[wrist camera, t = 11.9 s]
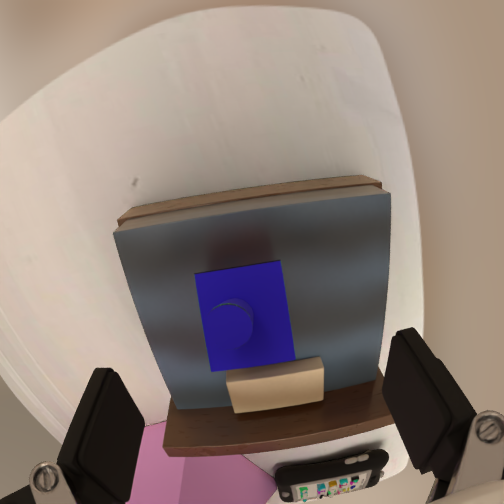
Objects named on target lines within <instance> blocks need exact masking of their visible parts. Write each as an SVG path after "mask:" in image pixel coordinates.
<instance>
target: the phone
mask: <svg viewBox="0 0 504 504" xmlns="http://www.w3.org/2000/svg"><path fill="white" fill-rule="evenodd" d="M388 460H389V455H388V453H387V452H386V451H385V450H382V449H377V450H372V451H370V450H367V451H366V452H365V453H362V454H359V455H355V456H351V457H347V458H342V459H338V460H333V461H328V462H323V463H318V464H311V465H296V466H286V467H282V468H280V469H279V470H277V472H276V473H275V482H276V484H277V487H278V490H279V495H280V498H281V500H282V501H284V502H297V501H304V502H306V501H307V500H309V499H316V498H317V499H319V498H320V499H321V498H323V497H327V496H328V497H330V498H331V497H333V496H334V495H338V494H343V493H348V492H352V491H356V490H361V489H365V488H369V487H372V486H374V485H376V484H377V483H378V482H379V479H380V478H382V477H383V475H384V472H383V471H381V470H382V469H383V467H384V466H385V465H386V464H387V462H388Z"/></svg>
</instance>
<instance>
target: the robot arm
mask: <svg viewBox="0 0 504 504" xmlns="http://www.w3.org/2000/svg"><path fill="white" fill-rule="evenodd" d="M382 395H383V398H384V400H385V402H386V404H387V407H388V409H389V411H390V413H391V415H392V418H393V420H394V422H395V424H396V427H397V429H398V431H399V433H400V436H401V438H402V440H403V443H404V445H405V447H406V450H407V452H408V454H409V457H410V459H411V462H412V464H413V466H414V468H415V469H419V470H420V472H421V474H425V473H427V472H429V471H432V472H433V474H434V476H435V478H436V479H435V481H434V484H433V487H432V489H431V491H430V494H429V496H428V499H427V501H426V503H425V504H504V416H503V415H502V414H500V413H498V412H496V411H484V412H481V413H479V414H478V415H477V413H476V412H475V410H474V409H473V407H472V405H471V404H470V402H469V401H468V399H467V398H466V396H465V395H464V393H463V392H462V390H461V389H460V387H459V386H458V384H457V383H456V381H455V380H454V378H453V377H452V375H451V374H450V372H449V371H448V370H447V368H446V367H445V365H444V364H443V362H442V361H441V360H440V359H438V358H436V357H435V356H434V354H433V353H432V351H431V350H430V349H429V347H428V346H427V344H426V343H425V342H424V340H423V339H422V337H421V336H420V335H419V333H418V332H417V331H416V329H415V328H413V327H411V328H407V329H403V330H400V331H397V332H396V335H395V336H393V337H392V340H391V345H390V351H389V356H388V362H387V367H386V371H385V376H384V381H383V385H382ZM144 427H145V421H144V418H143V416H142V414H141V413H140V411H139V409H138V408H137V406H136V404H135V403H134V401H133V399H132V398H131V396H130V394H129V392H128V391H127V389H126V387H125V385H124V383H123V382H122V380H121V378H120V376H119V374H118V373H117V372H114V370H113V369H112V368H96V369H95V370H94V371H93V374H92V376H91V378H90V380H89V382H88V385H87V387H86V389H85V391H84V394H83V396H82V398H81V400H80V403H79V405H78V408H77V410H76V412H75V415H74V417H73V420H72V422H71V424H70V427H69V429H68V432H67V434H66V437H65V440H64V442H63V445H62V447H61V450H60V453H59V456H58V458H57V463H56V464H55V463H53V462H50V461H49V462H48V461H45V462H41V463H39V464H37V465H36V466H35V467H34V468H33V469H32V471H31V474H30V477H29V482H30V484H29V485H27V486H25V487H23V488H22V489H20V490H18V491H16V492H14V493H12V494H10V495H8V496H6V497H4V498H2V499H1V500H0V504H125V503H126V502H128V501H129V500H130V496H131V491H132V485H133V480H134V475H135V470H136V465H137V460H138V455H139V450H140V445H141V441H142V436H143V432H144Z"/></svg>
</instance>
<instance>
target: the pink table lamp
mask: <svg viewBox="0 0 504 504" xmlns="http://www.w3.org/2000/svg"><path fill="white" fill-rule="evenodd" d="M166 422H167V421H165V422H161V423H158V424H154V425H150V426H147V427H144V432H143V436H142V441H141V445H140V450H139V455H138V460H137V465H136V470H135V475H134V480H133V485H132V491H131V496H130V500H129V501H128V502H126V503H125V504H266V502H267V501H268V500H269V499H270V497H271V496H272V495H273V494H274V492H275V491H276V490H277V484H276V482H275V479H274V478H273V477H272V476H270V475H269V474H267V473H266V472H264V471H263V470H262V469H260V468H259V467H257V466H256V465H255V464H253V463H252V462H250V461H249V460H248V459H246V458H245V457H244V456H242V455H241V454H240V455H226V456H207V457H168V455H167V454H166V452H165V451H164V449H163V448H162V445H163V439H164V433H165V427H166Z"/></svg>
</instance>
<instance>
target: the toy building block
mask: <svg viewBox="0 0 504 504" xmlns="http://www.w3.org/2000/svg"><path fill="white" fill-rule="evenodd" d="M194 278H195V284H196V291H197V297H198V303H199V310H200V316H201V321H202V327H203V333H204V339H205V344H206V350H207V355H208V360H209V365H210V371H211V372H216V371H224V370H233V369H240V368H248V367H255V366H261V365H268V364H274V363H280V362H286V361H292V360H296V355H295V348H294V341H293V334H292V328H291V321H290V315H289V308H288V302H287V296H286V289H285V283H284V277H283V271H282V265H281V260H275V261H269V262H263V263H256V264H250V265H244V266H238V267H231V268H225V269H219V270H212V271H206V272H199V273H194Z"/></svg>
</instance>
